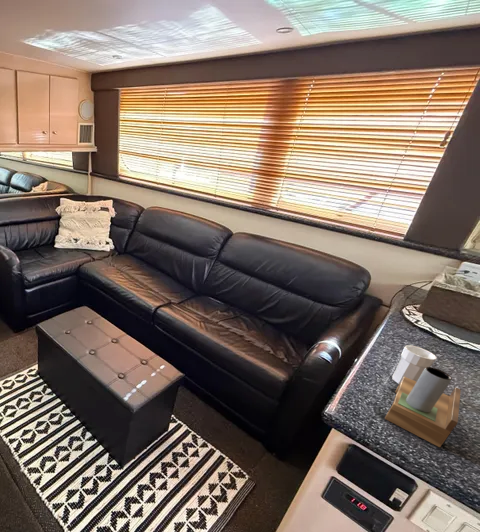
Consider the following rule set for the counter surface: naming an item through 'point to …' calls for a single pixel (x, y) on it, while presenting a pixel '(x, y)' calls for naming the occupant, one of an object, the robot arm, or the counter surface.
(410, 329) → the counter surface
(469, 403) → the counter surface
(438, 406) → the green-lined wooden tray
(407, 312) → the counter surface
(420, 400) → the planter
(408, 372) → the cup
